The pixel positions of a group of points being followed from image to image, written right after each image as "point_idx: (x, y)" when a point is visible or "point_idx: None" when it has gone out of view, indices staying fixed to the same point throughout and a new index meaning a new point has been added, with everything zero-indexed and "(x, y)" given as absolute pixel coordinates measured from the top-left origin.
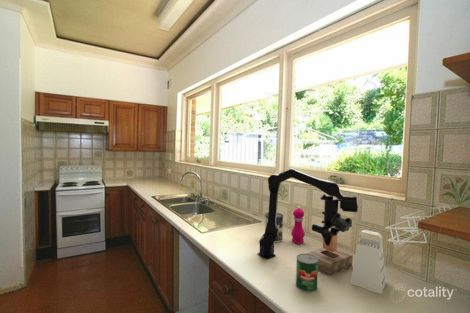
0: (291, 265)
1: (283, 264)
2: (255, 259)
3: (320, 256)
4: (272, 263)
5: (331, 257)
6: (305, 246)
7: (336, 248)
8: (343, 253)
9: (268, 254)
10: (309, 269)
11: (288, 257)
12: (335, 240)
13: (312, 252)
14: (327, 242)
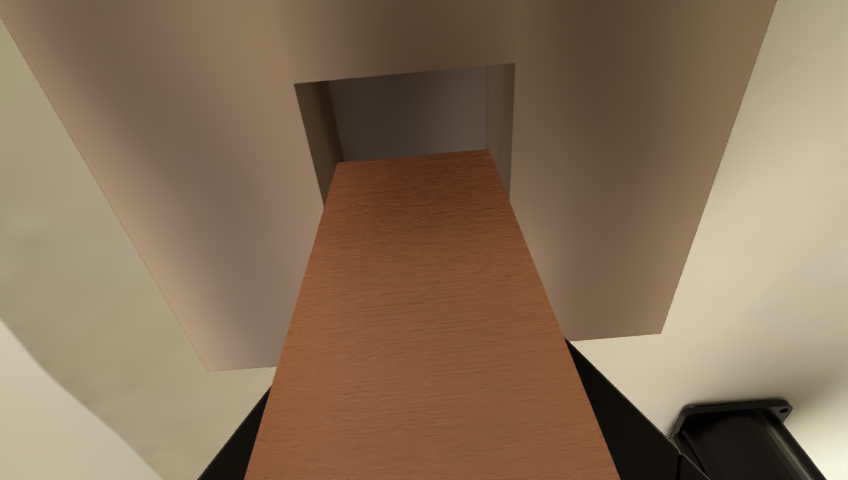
0: (740, 278)
1: (771, 312)
2: (831, 415)
3: (620, 206)
4: (814, 348)
5: None
6: None
7: (342, 186)
8: (153, 124)
9: (767, 431)
10: None
11: (621, 370)
12: (390, 348)
13: (589, 321)
14: (578, 370)
